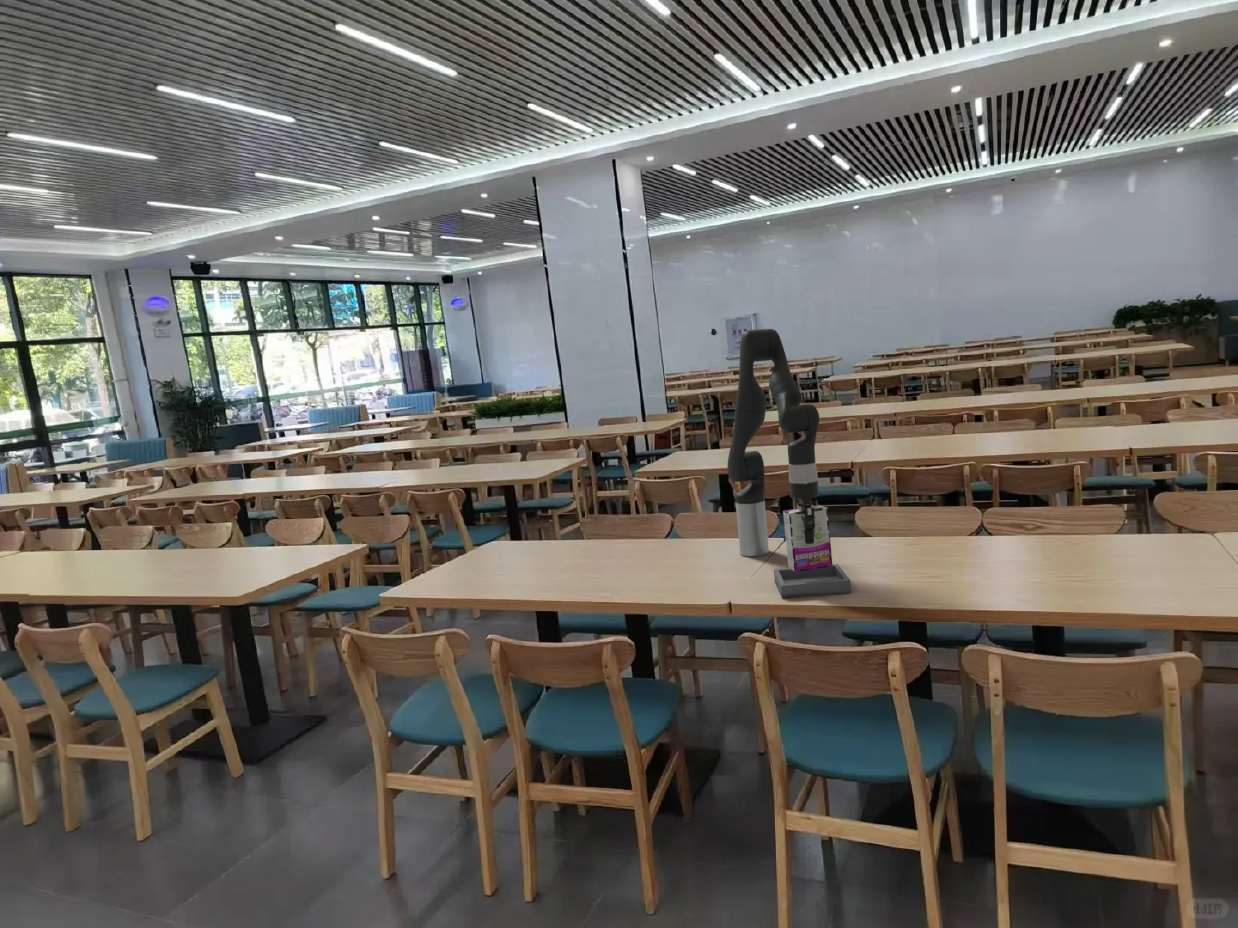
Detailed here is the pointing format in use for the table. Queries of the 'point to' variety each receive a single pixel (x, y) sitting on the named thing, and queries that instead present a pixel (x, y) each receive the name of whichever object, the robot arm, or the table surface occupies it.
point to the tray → (812, 582)
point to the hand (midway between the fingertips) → (807, 540)
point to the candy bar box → (797, 549)
